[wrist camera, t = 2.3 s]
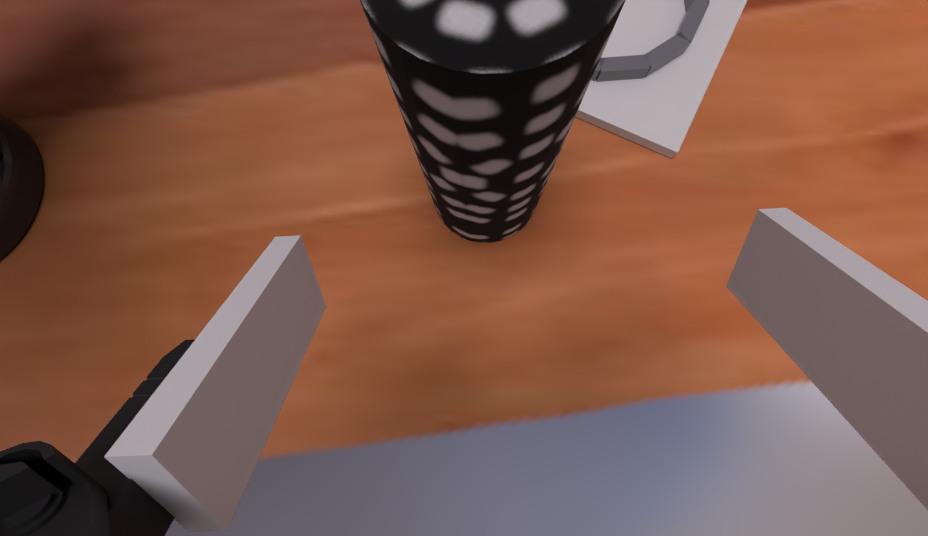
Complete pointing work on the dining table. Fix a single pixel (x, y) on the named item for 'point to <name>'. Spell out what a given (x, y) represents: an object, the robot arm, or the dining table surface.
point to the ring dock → (658, 69)
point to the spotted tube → (489, 96)
